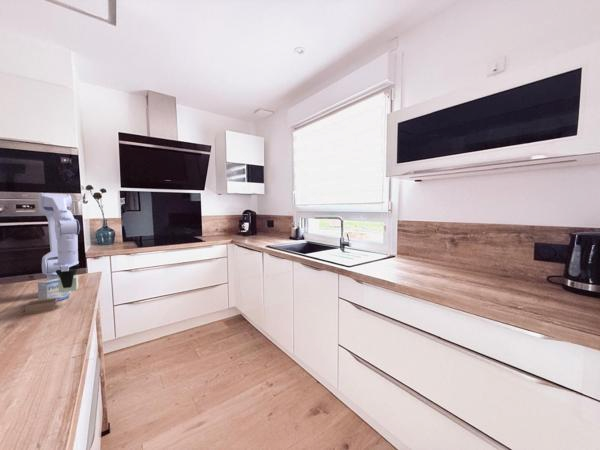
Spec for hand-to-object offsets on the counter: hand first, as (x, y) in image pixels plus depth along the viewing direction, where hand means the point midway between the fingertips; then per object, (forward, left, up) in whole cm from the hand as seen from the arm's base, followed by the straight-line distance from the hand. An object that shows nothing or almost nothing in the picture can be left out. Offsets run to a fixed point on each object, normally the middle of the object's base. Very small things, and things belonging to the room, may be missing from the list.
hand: (68, 285), depth 95 cm
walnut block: (0, -7, -8) cm, 11 cm away
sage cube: (0, 0, -2) cm, 2 cm away
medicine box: (-8, -5, -8) cm, 13 cm away
